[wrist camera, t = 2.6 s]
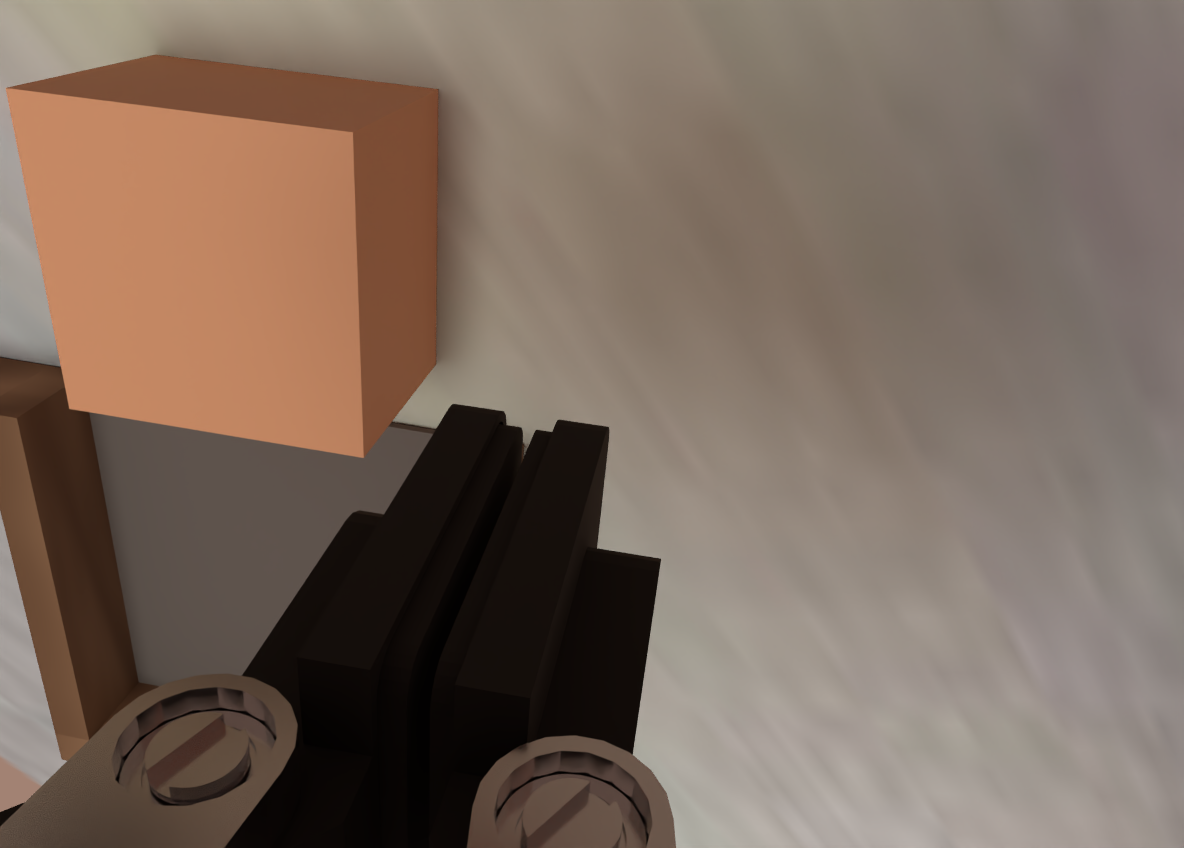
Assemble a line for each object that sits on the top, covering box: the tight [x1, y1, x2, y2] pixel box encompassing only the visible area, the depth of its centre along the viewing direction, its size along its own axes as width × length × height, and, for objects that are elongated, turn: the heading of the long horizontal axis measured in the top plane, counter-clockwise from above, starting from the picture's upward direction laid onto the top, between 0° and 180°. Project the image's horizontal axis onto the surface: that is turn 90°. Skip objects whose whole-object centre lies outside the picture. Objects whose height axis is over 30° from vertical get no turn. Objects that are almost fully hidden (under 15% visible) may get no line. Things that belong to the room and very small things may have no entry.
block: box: [6, 55, 438, 458], centre depth 19 cm, size 6×6×4 cm
